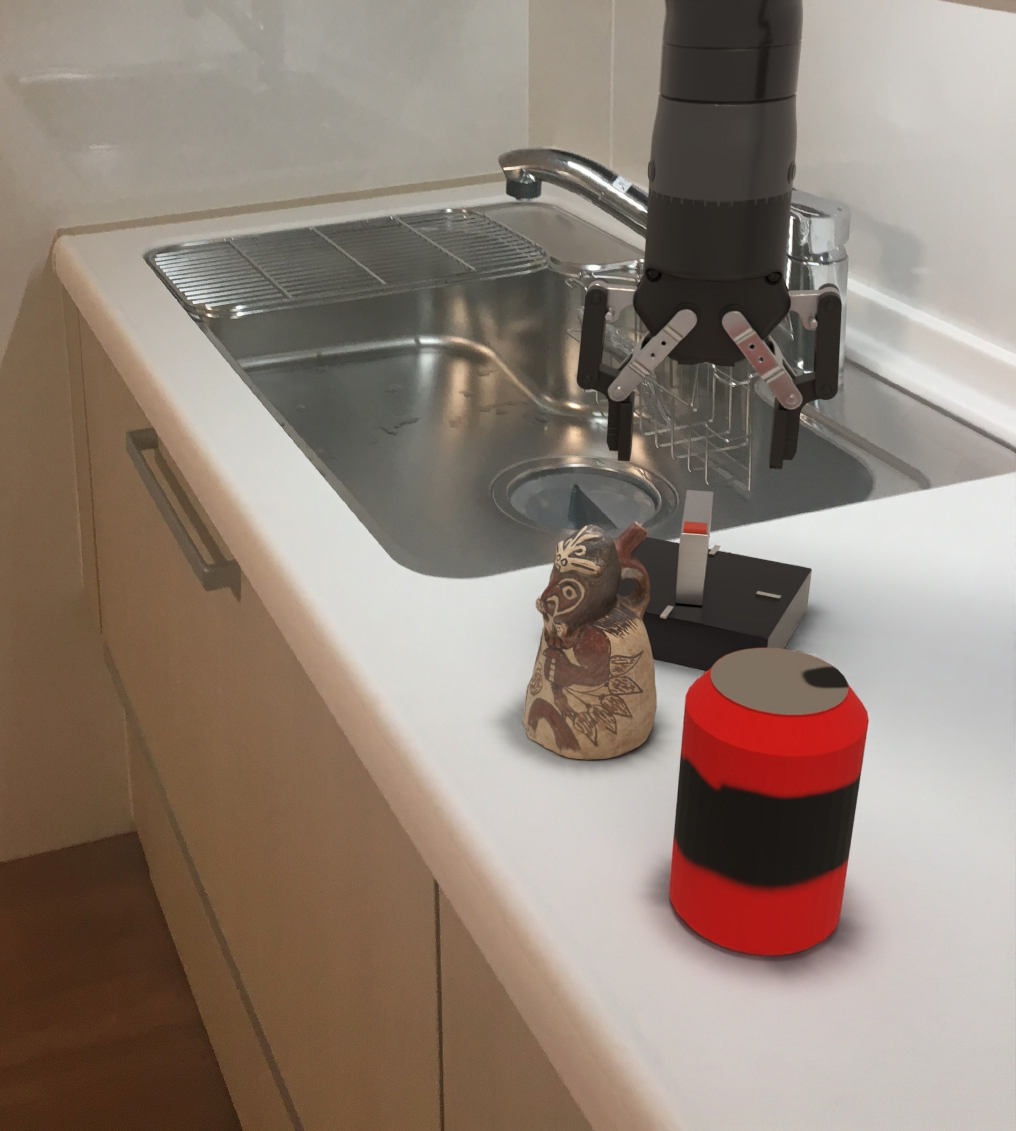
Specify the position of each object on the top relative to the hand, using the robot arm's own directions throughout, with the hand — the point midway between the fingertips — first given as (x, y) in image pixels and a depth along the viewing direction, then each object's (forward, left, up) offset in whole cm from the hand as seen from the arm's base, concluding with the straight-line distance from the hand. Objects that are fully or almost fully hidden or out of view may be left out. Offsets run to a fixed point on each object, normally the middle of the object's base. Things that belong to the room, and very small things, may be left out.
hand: (698, 460), depth 90 cm
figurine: (+1, +13, -11) cm, 17 cm away
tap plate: (0, -1, -11) cm, 11 cm away
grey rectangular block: (0, -1, -8) cm, 8 cm away
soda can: (-11, +24, -11) cm, 29 cm away
